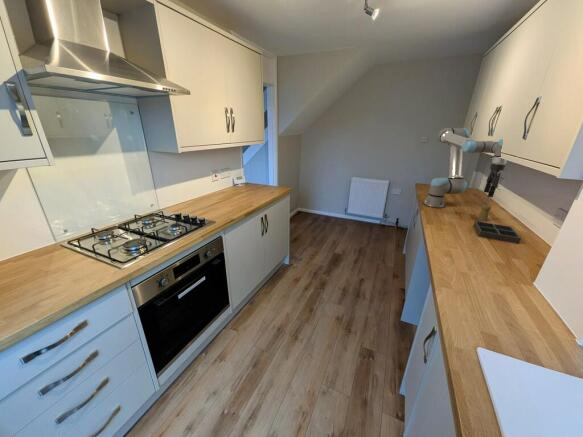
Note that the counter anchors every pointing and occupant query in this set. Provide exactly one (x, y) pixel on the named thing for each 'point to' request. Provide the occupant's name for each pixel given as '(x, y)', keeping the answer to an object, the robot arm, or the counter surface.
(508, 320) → the counter surface
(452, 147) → the robot arm
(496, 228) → the grid
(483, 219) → the cork
